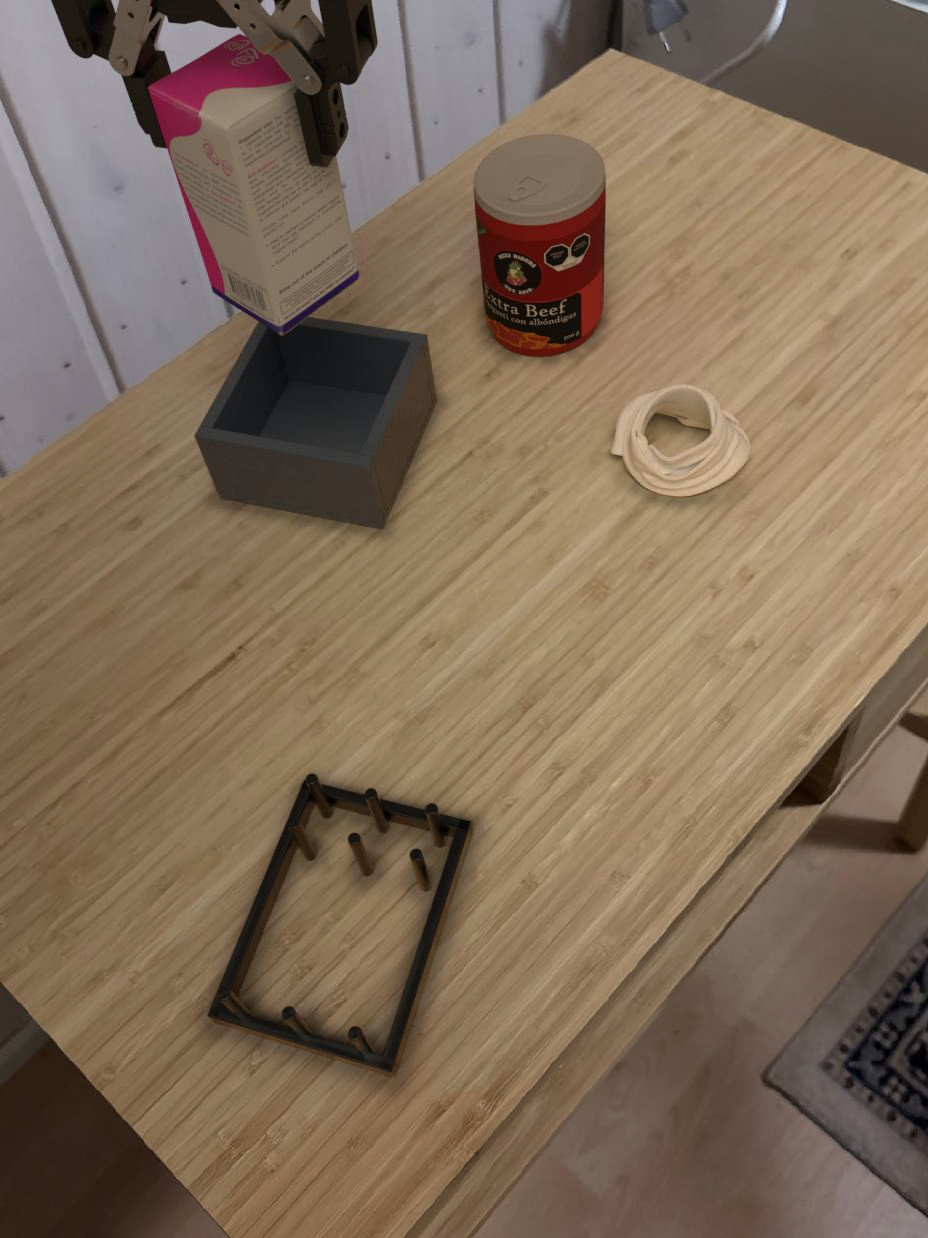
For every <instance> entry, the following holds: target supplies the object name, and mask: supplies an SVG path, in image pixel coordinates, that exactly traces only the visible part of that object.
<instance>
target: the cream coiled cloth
mask: <svg viewBox="0 0 928 1238" xmlns="http://www.w3.org/2000/svg"><path fill="white" fill-rule="evenodd" d="M655 414H659V415H665V416H670V417H673V418H676V419H677V421H679V423H680V424H681V425H684V426H686V427H693V428H699V429H705V430H710V434H709V435H708V437H707V438H705V440H703V441H701V442H700V443H698V444H696V445H694V446H692V447H690V448H688V449H686V450H684V451H681V452H679V453H678V454H676V455H672V456H667V455H664V454H663V453H662V452H661V451H660V450H659V449H658V448H657V447H656V446H655V445H654V444H651V443H650V444H649V445H648V443H649V442H648V439H647V437H646V436H645V431H646V428H647V426H648V423H649V422H650V420H651V419H652V417H653V416H654V415H655ZM751 443H752V442H751V441H750V438H749V437H748V434H747V432H746V431H745V430H744V429H743V427H742V424H741V422H740V421H739V419H737V418H736V417H735V416H734V415H733V414H731V413H730V412H729V411H727V410H725V409H723V408H722V406H721V403H720V402H719V400H718V398H717V397H716V396H715V395H714V394H713V393H712V392H710V391H708V390H707V389H703V388H700V387H699V386H696V385H693V384H689V383H677V384H671V385H668V386H665V387H662V388H660V389H659V390H652V391H647V392H645V393H642V394H639V395H637V396H635V397H634V398H631V399H630V400H628V401H626V404H625V405H624V406H623V407H622V410H621V411H620V413H619V414H618V416H617V419H616V421H615V433H614V437H613V440H612V443H611V446H610V449H609V453H610V454H612V455H614V456H618V457H622V460H623V463H624V465H625V466H626V469H627V470H628V472H629V473H630V474H631V476H632V477H633V478H634V479H635V480H636V481H637V482H638V483H639V484H640V485H641V486H642V487H643V488H645V489H647V490H649V491H651V492H654V493H657V494H659V495H663V496H667V497H691V496H696V495H698V494H702V493H705V492H707V491H709V490H712V489H714V488H717V487H718V486H720V485H722V484H724V483H725V482H727V481H729V480H730V479H731V478H733V477H734V476H735V475H736V474H738V472H739V471H740V470H741V469H742V468H743V467H744V465H745V464H746V463H747V462H748V460H749V458H750V456H751V452H752V444H751Z"/></svg>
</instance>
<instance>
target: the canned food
mask: <svg viewBox="0 0 928 1238" xmlns="http://www.w3.org/2000/svg"><path fill="white" fill-rule="evenodd" d="M606 174H607V173H606V167H605V162H604V160H603V157H602V156H601V154H600V153H599V152H598V150H596V149H595V148H594V147H593V146H592V145H590V144H589V143H587V142H585V141H583V140H582V139H578V138H576V137H572V136H568V135H563V134H553V133H542V134H532V135H528V136H522V137H519V138H515V139H512V140H509V141H508V142H505V143H504V144H500V145H499V146H497V147H496V148H495V149H493V150H491V151H490V152H489V153H488V154H487V155H486V156H485V157H484V158H482V160H481V161H480V162H479V164H478V165H477V167H476V170H475V172H474V175H473V199H474V213H475V214H474V215H475V223H476V235H477V245H478V254H479V255H478V256H479V265H480V277H481V285H482V297H483V305H484V315H485V316H484V317H485V320H486V324H487V326H488V327H489V330H490V331H491V334H492V335H493V337H494V339H495V340H496V341H497V342H498V343H499V344H500V345H501V346H503V347H504V348H506V349H508V350H509V351H512V352H514V353H517V354H519V355H525V356H531V357H532V356H533V357H546V356H554V355H559V354H562V353H565V352H568V351H571V350H574V348H577V347H578V346H581V344H583V343H584V342H585V341H587V340H588V339H589V338H590V336H591V335H593V334H594V332H595V330H596V328H597V327H598V325H599V322H600V320H601V317H602V314H603V310H604V294H605V293H604V292H605V253H606V252H605V251H606V250H605V249H606V246H605V245H606V210H607V209H606V203H607V193H606V192H607V190H606V189H607V188H606V187H607V185H606V184H607V176H606Z"/></svg>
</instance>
